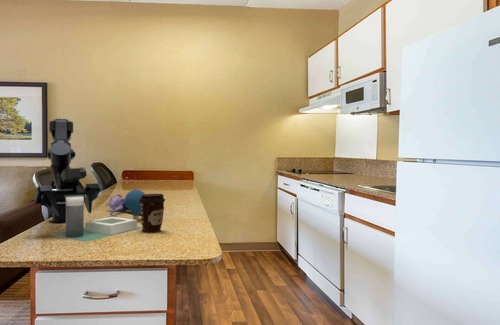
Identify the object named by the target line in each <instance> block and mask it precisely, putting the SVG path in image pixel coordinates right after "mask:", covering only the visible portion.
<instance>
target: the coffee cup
mask: <svg viewBox="0 0 500 325" xmlns="http://www.w3.org/2000/svg"><path fill="white" fill-rule="evenodd" d="M165 201H166V199H165V198H164V194H162V193H145V194H144V195H142V196H141V199H139V203H140V206H141V214H140V218H141V219H140V221H141V225H142V226H141V227H142V228H141V232H142V233H147V234H151V233H152V234H153V233H154V234H155V233H160V232H161V231H162V230H161V228H162V224H163V220H164V219H163V218H164V211H165V206H164V205H165V204H164V203H165Z"/></svg>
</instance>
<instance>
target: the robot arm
mask: <svg viewBox="0 0 500 325" xmlns="http://www.w3.org/2000/svg"><path fill="white" fill-rule="evenodd" d="M48 125H49V126H48V127H49V128H48V130H49V132H48V133H50V134H51V135H50V136H51V139H52V142H51V143H50V147H49V148H48V150H47V158H48V160H50V163H51V164H50V165H49V169H50V172H51V174H52V178H53V180H52V181H51V183H50V185H38V186H37V187H36V189H35V192H34V197H33V200H34V203H35V204H36V205H40V206H44V207H45V208H47V209H49V211H51V212H52V213H51V217H52V219H49V220H48V222H49V223H56V224H62V223H66V197H68V196H84V207H85V208H86V211H87V212H88V214H91V213H92V209H93V208H92V205H93V202H94V200H96V199H97V198H98V196H99V194H100V192H101V186H100V184H99V183H96V182H94V183H85V186H84V188H78V186H79V187H80V180H82V179H86V178H87V176H88V175H87V170H86V168H85V167H75V168H71V167H70V164H71V163H72V160H74V159H75V157H76V152H75V150H74V149H72V144H71V143H70V141H71V139H72V134H74V122H73V121H70V120H69V119H67V118H55V119H53V120H50V121H49V122H48Z"/></svg>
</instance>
